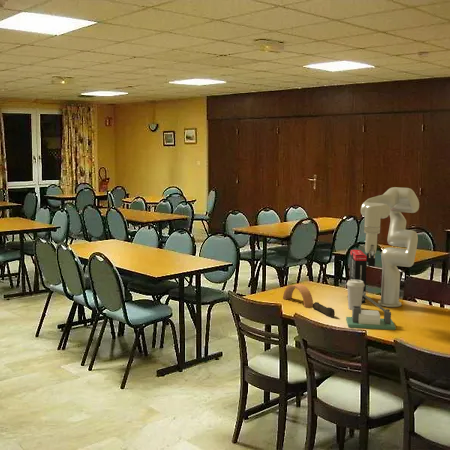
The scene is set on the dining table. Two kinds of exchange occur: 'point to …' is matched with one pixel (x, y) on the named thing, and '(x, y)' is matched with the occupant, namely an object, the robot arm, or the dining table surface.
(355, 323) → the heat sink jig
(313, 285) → the dining table surface
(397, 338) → the dining table surface
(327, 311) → the hand tool
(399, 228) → the robot arm
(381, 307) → the steel strap
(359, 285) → the coffee cup
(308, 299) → the arch
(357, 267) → the graphics card box
